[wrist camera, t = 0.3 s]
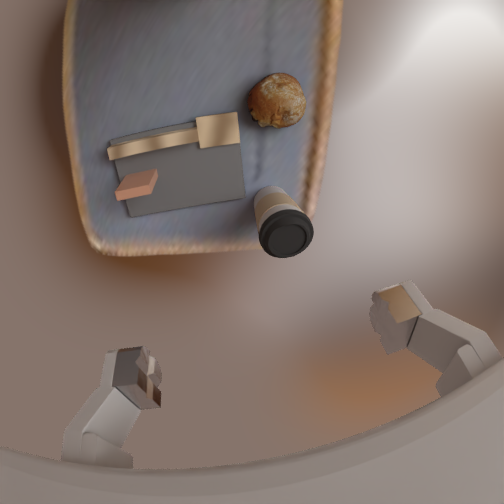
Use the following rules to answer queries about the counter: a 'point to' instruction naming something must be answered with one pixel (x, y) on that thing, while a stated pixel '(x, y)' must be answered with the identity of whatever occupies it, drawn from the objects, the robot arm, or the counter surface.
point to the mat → (183, 173)
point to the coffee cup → (281, 223)
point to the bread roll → (277, 101)
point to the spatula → (185, 136)
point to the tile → (137, 184)
